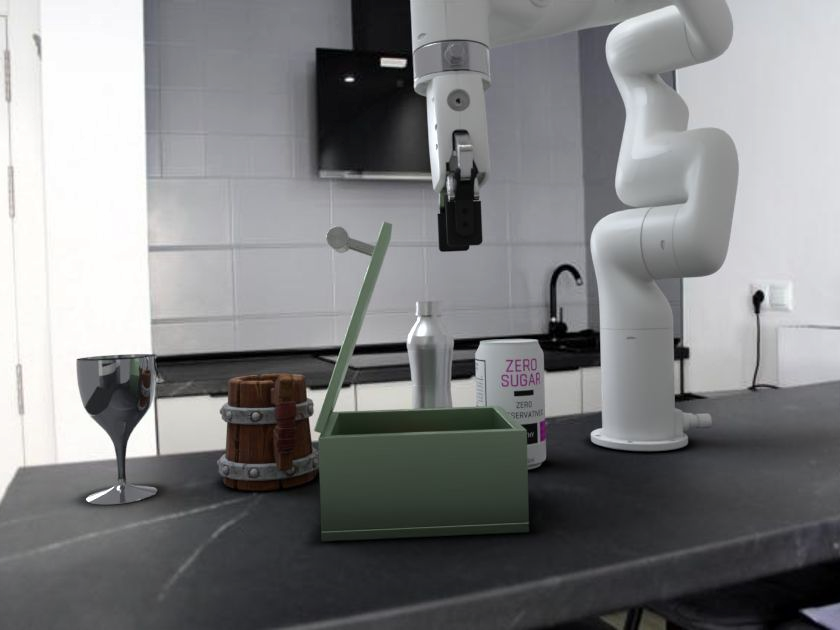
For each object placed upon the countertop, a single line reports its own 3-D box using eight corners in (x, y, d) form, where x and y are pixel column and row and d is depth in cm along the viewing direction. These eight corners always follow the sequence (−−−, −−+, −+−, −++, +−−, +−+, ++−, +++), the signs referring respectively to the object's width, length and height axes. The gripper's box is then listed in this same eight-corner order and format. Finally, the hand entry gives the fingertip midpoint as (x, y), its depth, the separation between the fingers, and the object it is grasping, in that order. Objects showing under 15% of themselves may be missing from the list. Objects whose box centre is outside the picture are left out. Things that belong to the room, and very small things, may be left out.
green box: (502, 489, 74) (500, 405, 74) (529, 532, 60) (526, 429, 60) (333, 496, 73) (330, 411, 73) (321, 542, 60) (318, 437, 59)
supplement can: (506, 453, 91) (503, 338, 91) (559, 462, 85) (556, 339, 85) (464, 465, 86) (461, 342, 85) (518, 475, 80) (515, 343, 79)
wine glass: (83, 510, 71) (77, 362, 70) (80, 492, 78) (75, 357, 78) (166, 497, 74) (160, 357, 74) (156, 481, 82) (151, 352, 81)
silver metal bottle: (458, 445, 97) (454, 300, 97) (456, 456, 90) (452, 301, 90) (412, 445, 98) (408, 302, 97) (406, 456, 91) (402, 302, 90)
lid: (390, 238, 73) (341, 221, 73) (392, 224, 59) (331, 203, 59) (334, 408, 73) (284, 392, 73) (322, 433, 59) (261, 414, 59)
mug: (304, 458, 90) (306, 344, 87) (340, 505, 77) (344, 374, 75) (210, 470, 85) (209, 350, 82) (233, 522, 72) (233, 382, 70)
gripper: (505, 40, 60) (513, 241, 61) (478, 96, 77) (484, 251, 78) (417, 43, 60) (426, 244, 60) (410, 98, 77) (417, 254, 78)
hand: (459, 248), depth 69 cm, fingers open, 9 cm apart
